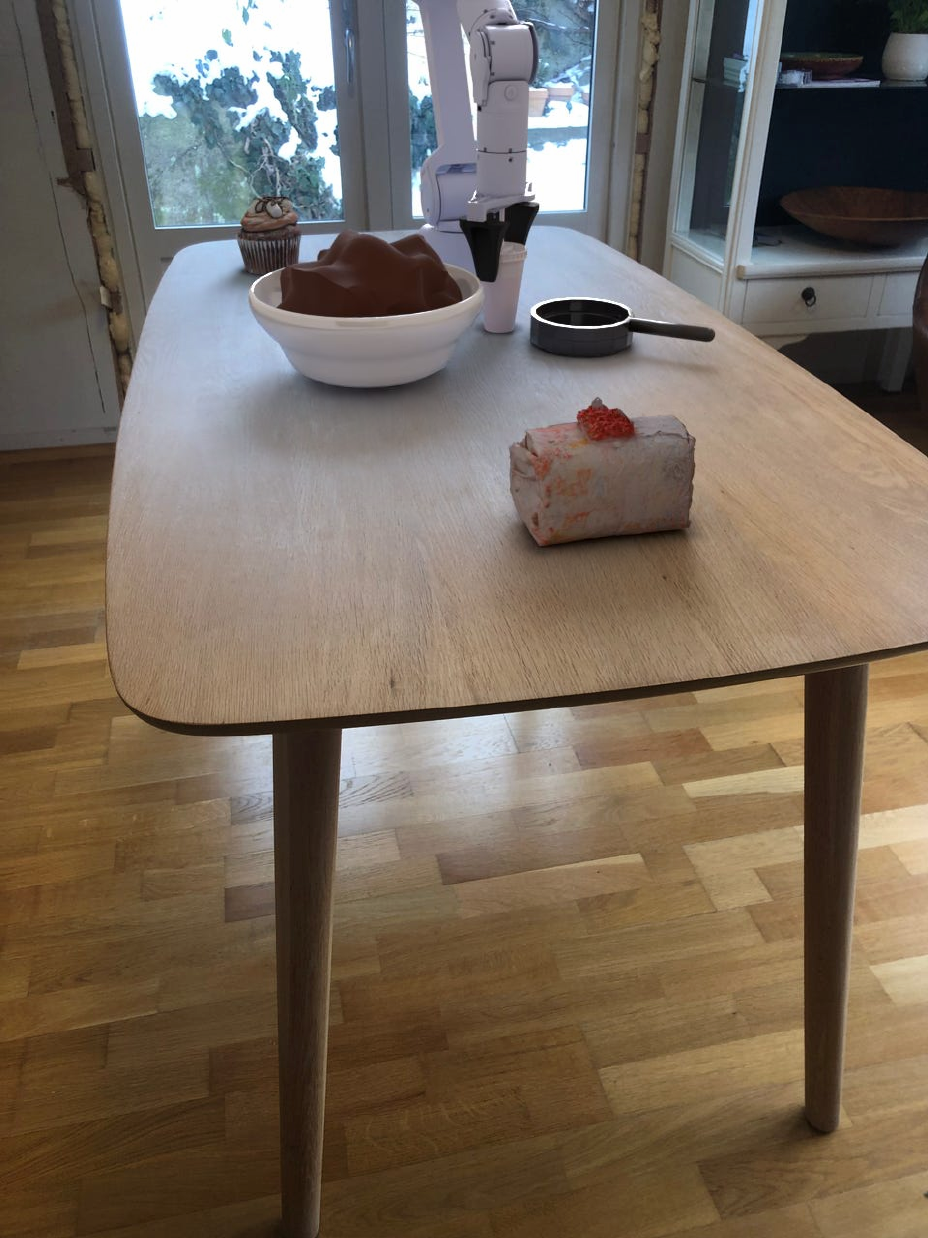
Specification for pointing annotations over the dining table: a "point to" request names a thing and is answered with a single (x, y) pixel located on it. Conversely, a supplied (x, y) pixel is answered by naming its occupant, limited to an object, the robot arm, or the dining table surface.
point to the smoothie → (504, 288)
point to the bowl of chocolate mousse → (368, 311)
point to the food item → (603, 476)
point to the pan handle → (671, 330)
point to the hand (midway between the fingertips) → (499, 273)
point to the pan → (581, 326)
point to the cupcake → (269, 235)
